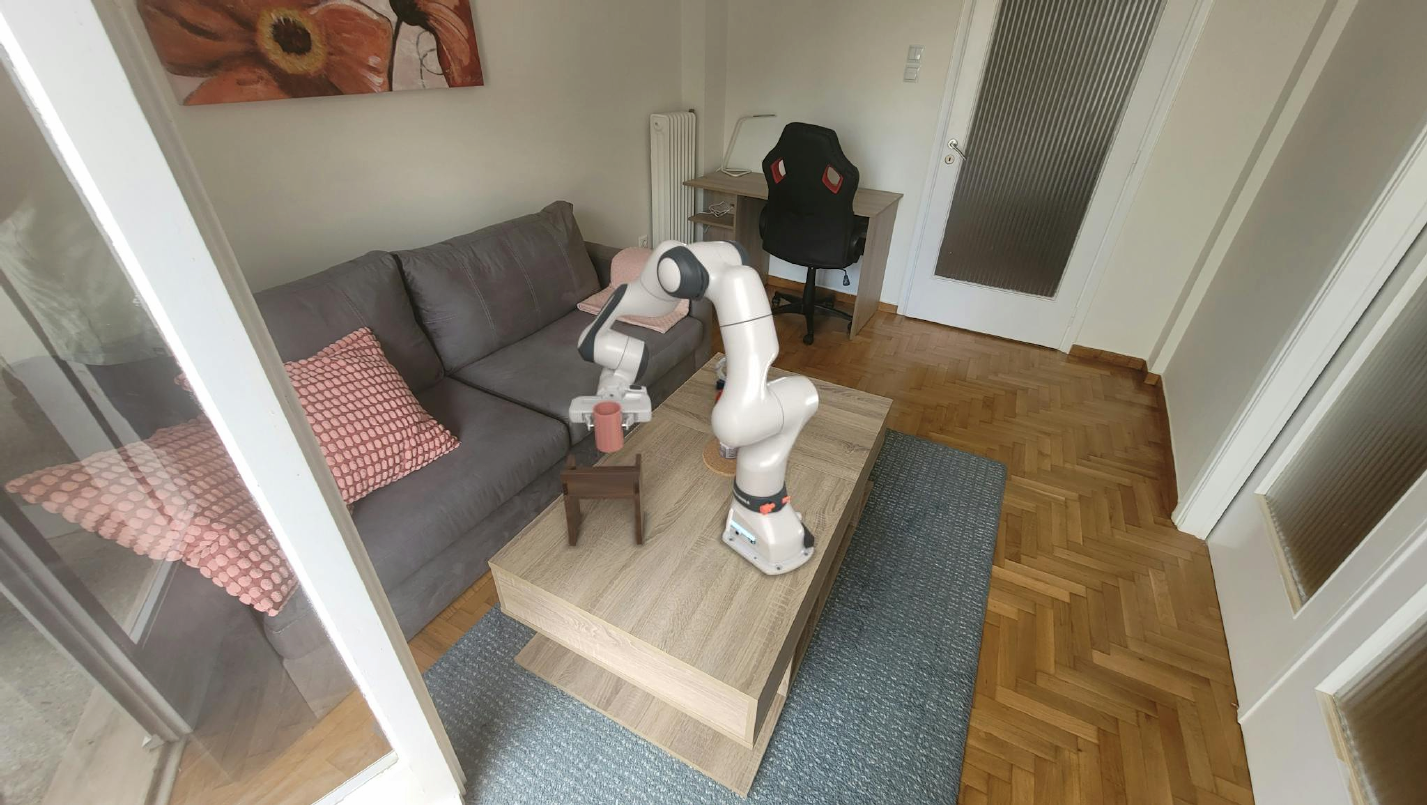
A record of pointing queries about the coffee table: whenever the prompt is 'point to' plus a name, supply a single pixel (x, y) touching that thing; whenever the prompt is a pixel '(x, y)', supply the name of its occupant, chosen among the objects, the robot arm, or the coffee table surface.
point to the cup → (608, 426)
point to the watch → (720, 374)
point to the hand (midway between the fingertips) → (608, 427)
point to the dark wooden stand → (601, 490)
